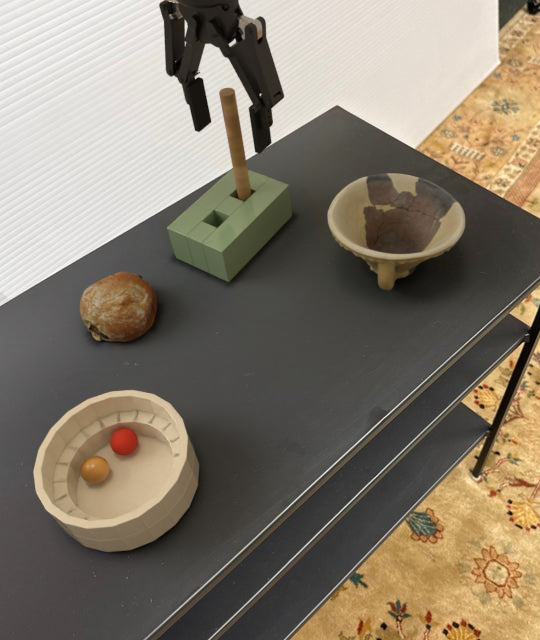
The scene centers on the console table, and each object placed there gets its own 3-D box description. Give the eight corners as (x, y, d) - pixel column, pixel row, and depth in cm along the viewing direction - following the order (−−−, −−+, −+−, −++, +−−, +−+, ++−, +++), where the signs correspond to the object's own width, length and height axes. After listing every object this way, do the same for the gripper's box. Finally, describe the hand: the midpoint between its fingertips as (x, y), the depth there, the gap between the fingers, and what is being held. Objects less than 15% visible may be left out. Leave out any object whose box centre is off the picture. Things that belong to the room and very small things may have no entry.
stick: (240, 222, 99) (215, 91, 82) (250, 216, 99) (228, 85, 82) (248, 228, 98) (225, 97, 81) (258, 222, 98) (238, 91, 81)
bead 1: (80, 488, 69) (72, 472, 71) (106, 490, 71) (97, 474, 73) (92, 465, 68) (83, 449, 70) (117, 467, 70) (108, 451, 72)
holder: (175, 258, 94) (166, 227, 90) (241, 195, 103) (236, 164, 98) (228, 282, 91) (221, 251, 86) (292, 215, 99) (289, 184, 94)
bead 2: (120, 419, 73) (101, 438, 73) (127, 433, 70) (108, 453, 70) (139, 430, 75) (121, 450, 74) (146, 444, 72) (128, 464, 72)
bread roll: (87, 341, 90) (55, 327, 82) (111, 272, 92) (82, 252, 84) (151, 356, 87) (124, 343, 80) (174, 285, 90) (150, 266, 82)
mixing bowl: (28, 506, 70) (1, 477, 65) (127, 402, 79) (110, 368, 73) (133, 583, 65) (113, 558, 59) (228, 461, 73) (217, 430, 67)
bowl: (448, 319, 85) (457, 268, 77) (316, 296, 88) (312, 245, 81) (465, 229, 95) (474, 177, 88) (346, 212, 99) (345, 161, 92)
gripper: (306, -37, 67) (317, 145, 84) (147, -72, 75) (187, 101, 92) (264, -8, 63) (284, 177, 80) (102, -48, 71) (152, 128, 88)
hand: (232, 136), depth 86 cm, fingers open, 9 cm apart
